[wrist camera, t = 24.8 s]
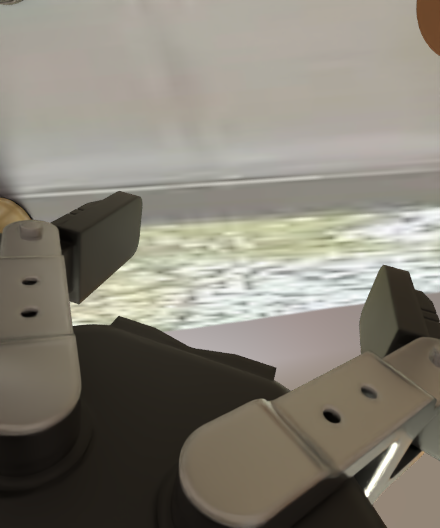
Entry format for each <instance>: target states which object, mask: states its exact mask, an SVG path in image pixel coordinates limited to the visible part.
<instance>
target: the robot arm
mask: <svg viewBox="0 0 440 528" xmlns="http://www.w3.org/2000/svg"><path fill="white" fill-rule="evenodd" d="M21 1H23V0H0V4H3V5H13V4H17V3H19V2H21ZM141 215H142V199H141V197H139V196H136V195H132V194H129V193H125V192H121V191H118V192H116V193H114V194H112V195H110V196H109V197H107V198H105V199H103V200H100V201H95V202H90V203H87V204H85V205H83V206H81V207H79V208H78V210H77V209H75V210H74V211H72V212H70V214H66V215H64V216H62V217H60V218H59V219H57V220H55V221H53V222H51V223H49V222H45V221H39V220H22V221H17V222H13V223H10V224H8V225H7V226H5V227H4V228H3V232H2V233H0V528H387V527H386V525H385V524H384V522H383V521H382V519H381V518H380V516H379V515H378V513H377V511H376V510H375V508H374V507H373V504H374V503H375V501H376V500H377V499H378V498H379V496H380V495H381V494H382V493H383V492H384V491H385V490H386V489H387V488H388V487H389V486H390V485H391V484H393V483H394V482H395V481H396V480H397V479H398V478H399V477H400V476H401V475H402V474H403V473H404V472H405V471H406V470H408V468H410V467H411V466H412V465H413V464H414V463H415V462H416V461H417V460H418V459H419V458H420V457H421V456H422V455H423V454H424V453H425V452H426V453H427V454H429V455H431V456H432V457H434V458H436V459H437V460H439V461H440V323H439V318H438V315H437V314H436V310H435V308H434V305H433V303H432V301H431V300H430V299H429V298H428V297H427V296H426V295H425V294H424V293H423V292H422V291H418V290H415V289H414V286H413V283H412V280H411V277H410V274H409V272H408V271H405V270H401V269H397V268H394V267H390V266H387V265H383V266H382V267H381V268H380V270H379V272H378V274H377V277H376V279H375V281H374V284H373V286H372V288H371V291H370V293H369V295H368V298H367V300H366V302H365V305H364V307H363V310H362V313H361V317H360V322H359V329H360V345H361V355H359V356H357V357H355V358H353V359H352V360H350V361H348V362H346V363H344V364H342V365H340V366H338V367H337V368H334V369H332V370H330V371H329V372H327V373H325V374H323V375H321V376H319V377H317V378H315V379H313V380H312V381H310V382H308V383H306V384H304V385H302V386H300V387H298V388H296V389H294V390H292V391H290V390H289V389H287V388H286V387H284V386H283V385H281V384H280V383H278V382H276V381H275V380H274V377H275V372H276V368H275V367H272V366H269V365H266V364H263V363H260V362H257V361H254V360H251V359H248V358H245V357H242V356H239V355H235V354H229V353H222V352H216V351H209V350H202V349H195V348H191V347H189V346H187V345H185V344H183V343H181V342H180V341H178V340H176V339H174V338H172V337H171V336H169V335H167V334H165V333H164V332H162V331H160V330H158V329H156V328H154V327H151V326H148V325H145V324H142V323H139V322H136V321H133V320H130V319H127V318H124V317H121V316H118V317H117V318H116V319H115V320H114V322H113V323H112V324H111V325H97V324H92V325H78V326H72V318H71V310H70V302H69V301H71V302H74V303H77V304H80V303H81V302H82V301H83V300H84V299H86V298H87V297H88V296H89V295H90V294H91V293H92V292H93V291H94V290H96V289H97V288H98V287H99V286H100V285H101V284H102V283H103V282H104V281H106V280H107V279H108V278H109V277H110V276H111V275H112V274H113V273H114V272H116V271H117V270H118V269H119V268H120V267H121V266H122V265H123V264H125V263H126V262H127V261H128V260H129V259H130V258H131V257H132V256H133V255H134V253H135V252H136V250H137V247H138V243H139V237H140V226H141Z"/></svg>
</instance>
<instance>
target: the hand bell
mask: <svg viewBox="0 0 440 528" xmlns="http://www.w3.org/2000/svg"><path fill="white" fill-rule="evenodd" d="M22 220H31V219H30V217H29V216H28V214H27V213H26V212H25V211H24V210H23V209H22V208H21V207H20V206H19V205H17V204H16V203H14V202H13V201H11V200H8V199H5V198H0V233H2V232H3V228H4V227H5V226H7V225H8V224H10V223H13V222H17V221H22Z"/></svg>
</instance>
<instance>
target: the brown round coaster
mask: <svg viewBox="0 0 440 528" xmlns="http://www.w3.org/2000/svg"><path fill="white" fill-rule="evenodd" d="M416 9H417V20H418V25H419V28H420V31H421V34H422V36H423V38H424V40H425V41H426V43H427V44H428V45H429V47H430V48H431V49H432V50H433V51H434V52H435V53H436V54H438V55H439V56H440V0H417V8H416Z"/></svg>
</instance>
